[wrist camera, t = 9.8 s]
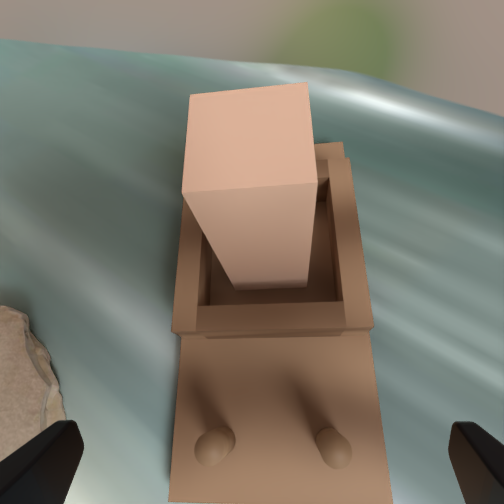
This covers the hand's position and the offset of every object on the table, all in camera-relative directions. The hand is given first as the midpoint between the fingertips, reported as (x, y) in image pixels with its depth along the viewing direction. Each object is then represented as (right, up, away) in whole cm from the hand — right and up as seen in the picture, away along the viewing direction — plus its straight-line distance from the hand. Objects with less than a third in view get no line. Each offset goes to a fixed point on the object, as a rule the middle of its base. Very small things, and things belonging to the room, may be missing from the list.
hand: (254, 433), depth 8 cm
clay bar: (+1, +4, +12) cm, 12 cm away
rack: (+1, +2, +12) cm, 12 cm away
